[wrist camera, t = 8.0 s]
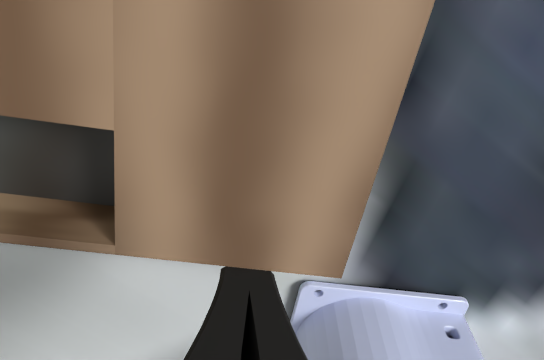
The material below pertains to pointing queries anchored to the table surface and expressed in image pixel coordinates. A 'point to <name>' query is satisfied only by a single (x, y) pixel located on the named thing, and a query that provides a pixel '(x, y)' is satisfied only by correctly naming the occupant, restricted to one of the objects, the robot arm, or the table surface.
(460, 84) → the table surface
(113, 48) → the trap deck
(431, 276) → the table surface
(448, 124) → the table surface
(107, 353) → the table surface
